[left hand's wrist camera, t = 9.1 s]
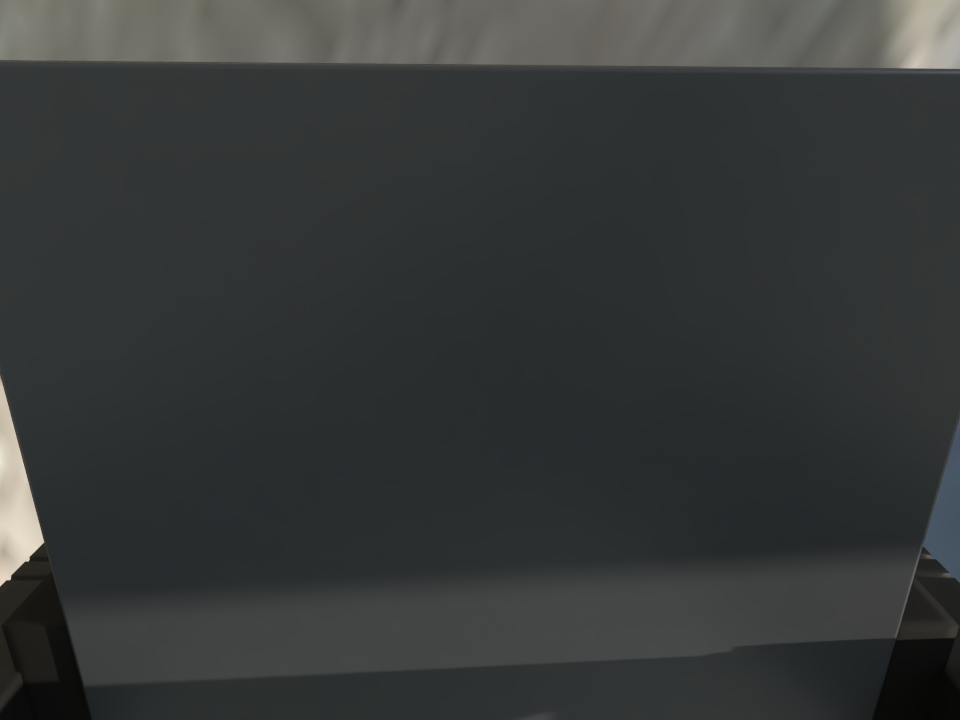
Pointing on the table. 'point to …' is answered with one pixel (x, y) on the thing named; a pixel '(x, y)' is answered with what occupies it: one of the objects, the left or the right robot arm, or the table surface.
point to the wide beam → (480, 381)
